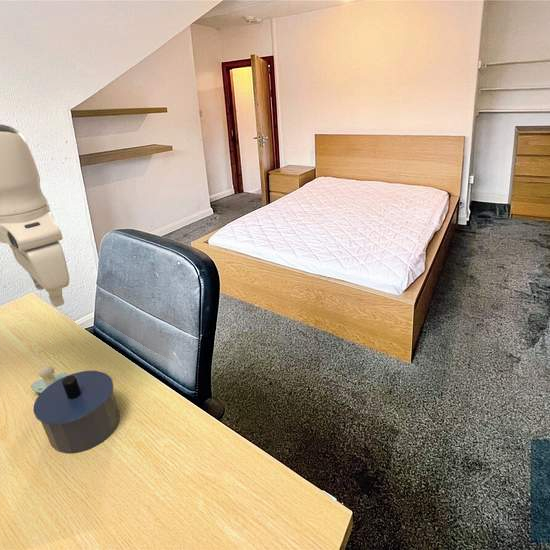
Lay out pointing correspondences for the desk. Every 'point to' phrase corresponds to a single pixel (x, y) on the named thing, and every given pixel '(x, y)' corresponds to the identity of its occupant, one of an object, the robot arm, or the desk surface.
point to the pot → (85, 429)
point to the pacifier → (46, 378)
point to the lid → (73, 397)
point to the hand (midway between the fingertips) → (49, 296)
